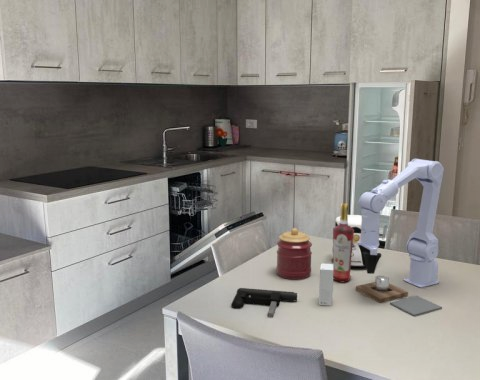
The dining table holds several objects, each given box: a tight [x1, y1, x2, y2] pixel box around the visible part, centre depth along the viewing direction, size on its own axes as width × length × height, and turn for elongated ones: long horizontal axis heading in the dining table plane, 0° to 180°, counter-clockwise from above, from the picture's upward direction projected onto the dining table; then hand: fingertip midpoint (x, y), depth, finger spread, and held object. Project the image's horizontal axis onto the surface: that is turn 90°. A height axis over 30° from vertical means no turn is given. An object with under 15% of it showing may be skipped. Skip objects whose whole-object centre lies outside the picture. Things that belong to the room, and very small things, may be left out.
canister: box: [276, 227, 313, 280], centre depth 179 cm, size 13×13×18 cm
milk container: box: [331, 214, 366, 268], centre depth 191 cm, size 17×17×18 cm
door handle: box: [230, 287, 298, 318], centre depth 153 cm, size 3×20×16 cm
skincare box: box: [318, 263, 334, 306], centre depth 155 cm, size 6×4×12 cm
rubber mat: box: [389, 295, 443, 317], centre depth 152 cm, size 12×10×1 cm
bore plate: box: [355, 281, 409, 304], centre depth 163 cm, size 12×12×2 cm
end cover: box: [374, 275, 390, 293], centre depth 162 cm, size 4×4×6 cm
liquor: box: [332, 202, 354, 283], centre depth 172 cm, size 7×7×28 cm
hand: (368, 269), depth 159 cm, fingers open, 7 cm apart
